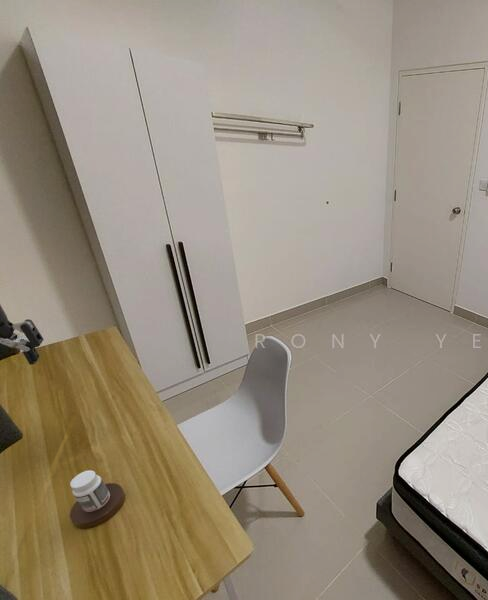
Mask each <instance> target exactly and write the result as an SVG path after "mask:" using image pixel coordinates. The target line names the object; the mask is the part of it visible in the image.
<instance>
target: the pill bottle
mask: <svg viewBox="0 0 488 600" xmlns="http://www.w3.org/2000/svg"><path fill="white" fill-rule="evenodd" d="M105 484H106V483H105V481H104V480H103V479H102V477H101V476H100V475H97V474H96V472H95V471H94V470H91V469H90V470H89V469H88V470H85V471H82V472H80V473H78V474H77V475H76V476H74V477H73V478H72V479H71V480H70V484H69V485H70V488H71V491H72V495H73V497H74V498H75V500H76V502H77V501H78V502H79V504H80V505H81V507H82V508H83V510H84V511H86V512H92V511H95V510H97V509H99V508H101V507H102V506H104V505H105V504H106V503H107V502H108V500H109V498H110V492H109V491H108V489H107V487H106V486H105Z"/></svg>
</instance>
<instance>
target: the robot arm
mask: <svg viewBox="0 0 488 600" xmlns="http://www.w3.org/2000/svg"><path fill="white" fill-rule="evenodd" d="M15 330H16V331H18V332H19V333H17V332H15ZM22 334H24V336H25V337H26V338H25V337H24V336H23V335H22ZM43 341H44V337H43V336H42V334H41V332H40V330H38V328H37V326H36V324H35V323H34V322H33V320H32V319H25V320H24V321H22V322H17V323H13V322H11V321H10V320H9V318H8V315H7V314H6V312H5V310H4V309H3V307H2V305H1V304H0V347H2V346H6V347H9V348H12V349H15V348H16V349H17V350H20V351H22V354H23V356H24V357H25V359H26V361H27V363H28V364H29V365H31V366H32V365H36V364H37V362H38V361H39V359H40V354H39V352H38V350H37V349H36V348H39V347H40V346H41V345H42V343H43Z"/></svg>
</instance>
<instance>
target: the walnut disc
mask: <svg viewBox="0 0 488 600" xmlns="http://www.w3.org/2000/svg"><path fill="white" fill-rule="evenodd" d="M104 484H105V486H106V487H107V489H108V491H109V492H110V498H109V500H108V502H107V503H106V504H105V505H104V506H102V507H101V508H99V509H97V510H95V511H92V512H86V511H84V510H83V508H82V507H81V505H80V504H79V502H78V501H77V500H76V502H75V503H74V504H73V505H72V507H71V509H70V511H69V518H70V520H71V522H72V524H73V525H74V526H75V527H76V528H78V529H82V530H83V529H86V530H87V529H92V528H94V527H97V526H99V525H101V524H103V523H105V522H106V521H108V520H109V519H111V518H112V517H113V516H115V515H116V514H117V513H118V512H119V510H120V509H121V508H122V506H123V504H124V503H125V499H126V494H125V491H124V490H123V487H122V486H121V485H120V484H118V483H114V482H107V483H104Z"/></svg>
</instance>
